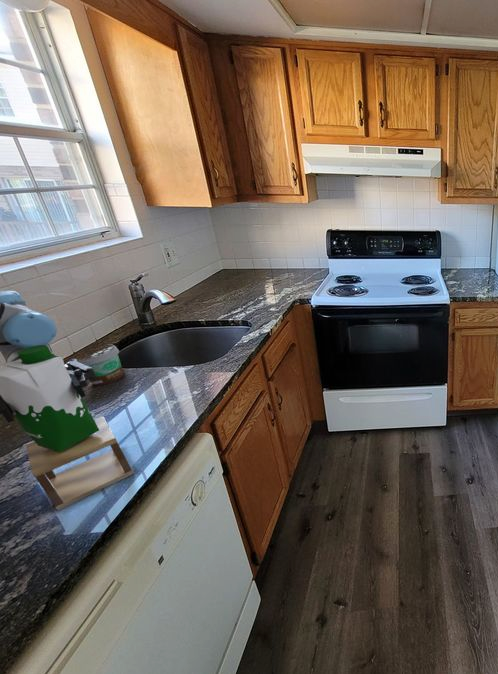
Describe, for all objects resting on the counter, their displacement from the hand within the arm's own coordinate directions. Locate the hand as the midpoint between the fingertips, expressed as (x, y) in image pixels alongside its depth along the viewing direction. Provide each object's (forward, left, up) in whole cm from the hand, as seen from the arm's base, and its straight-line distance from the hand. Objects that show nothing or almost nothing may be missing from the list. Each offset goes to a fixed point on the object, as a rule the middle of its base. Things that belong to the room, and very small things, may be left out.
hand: (45, 402), depth 69 cm
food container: (-51, +28, -22) cm, 62 cm away
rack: (-4, +1, -22) cm, 22 cm away
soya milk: (-4, +1, -11) cm, 12 cm away
